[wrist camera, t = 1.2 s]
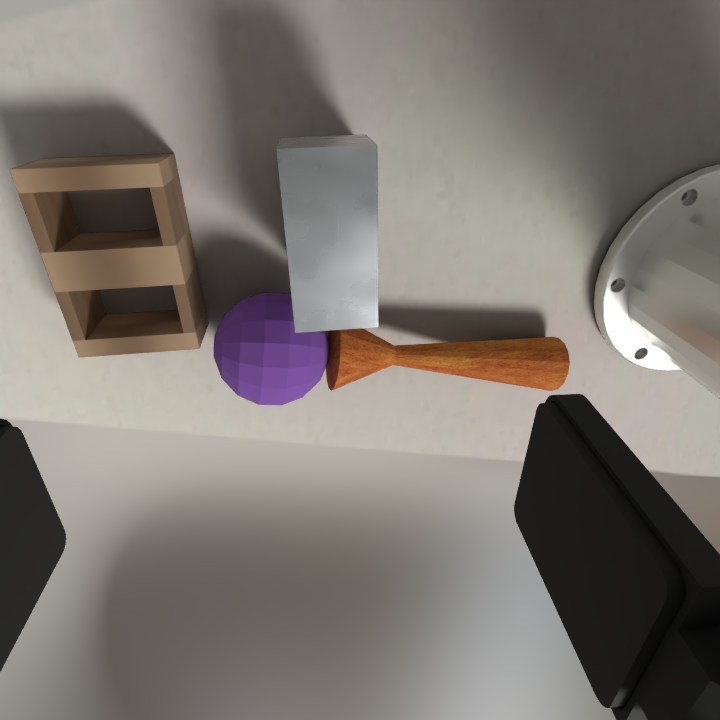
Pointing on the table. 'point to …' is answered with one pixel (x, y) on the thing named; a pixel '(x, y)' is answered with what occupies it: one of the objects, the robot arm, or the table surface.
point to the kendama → (359, 355)
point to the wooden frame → (115, 253)
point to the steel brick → (331, 230)
